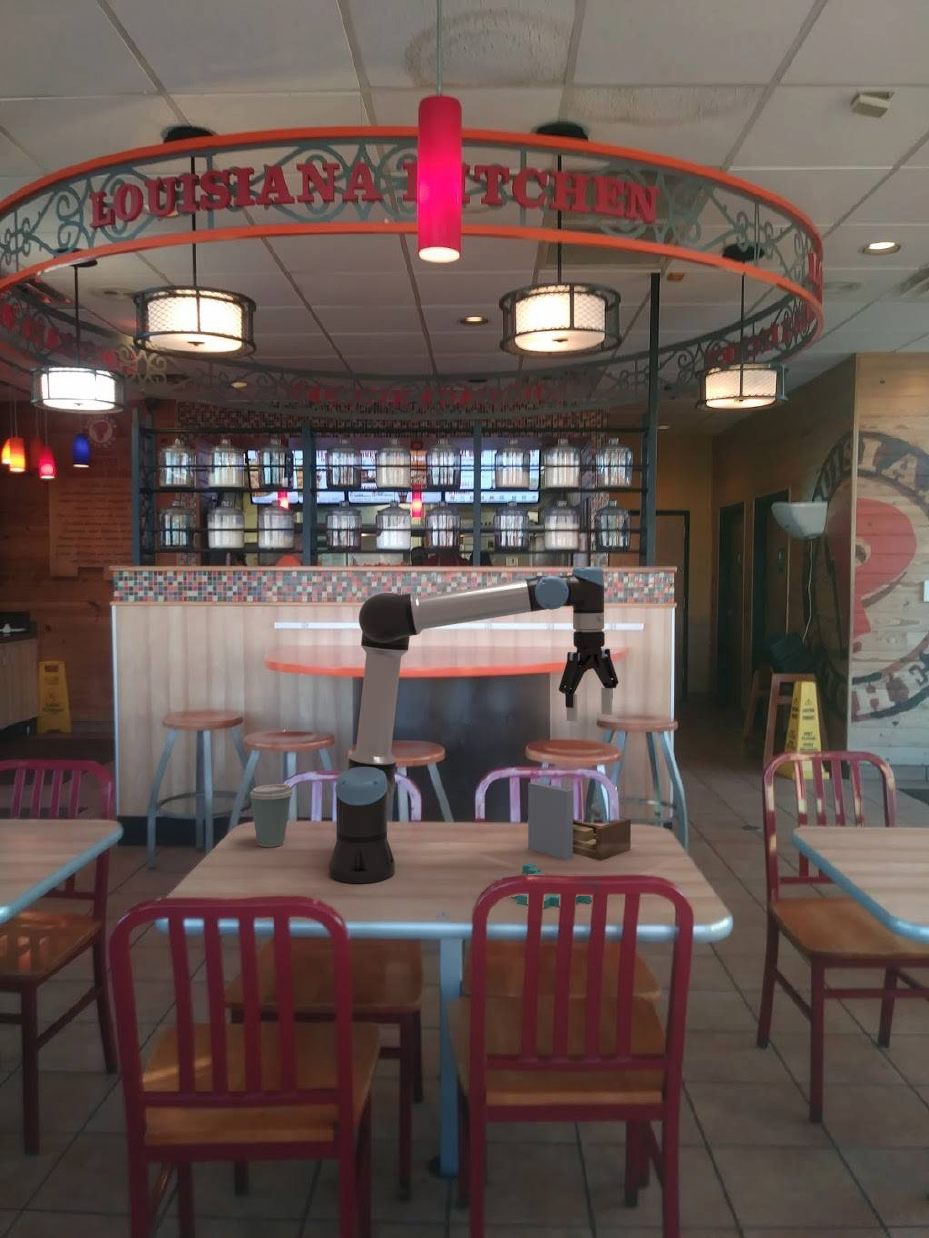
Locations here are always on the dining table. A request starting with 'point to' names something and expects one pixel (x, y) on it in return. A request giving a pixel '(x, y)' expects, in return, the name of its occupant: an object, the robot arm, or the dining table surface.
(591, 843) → the offcut
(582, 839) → the offcut
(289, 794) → the disposable coffee cup
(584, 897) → the alien figure
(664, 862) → the dining table surface
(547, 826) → the grey rectangular panel
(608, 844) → the rack
